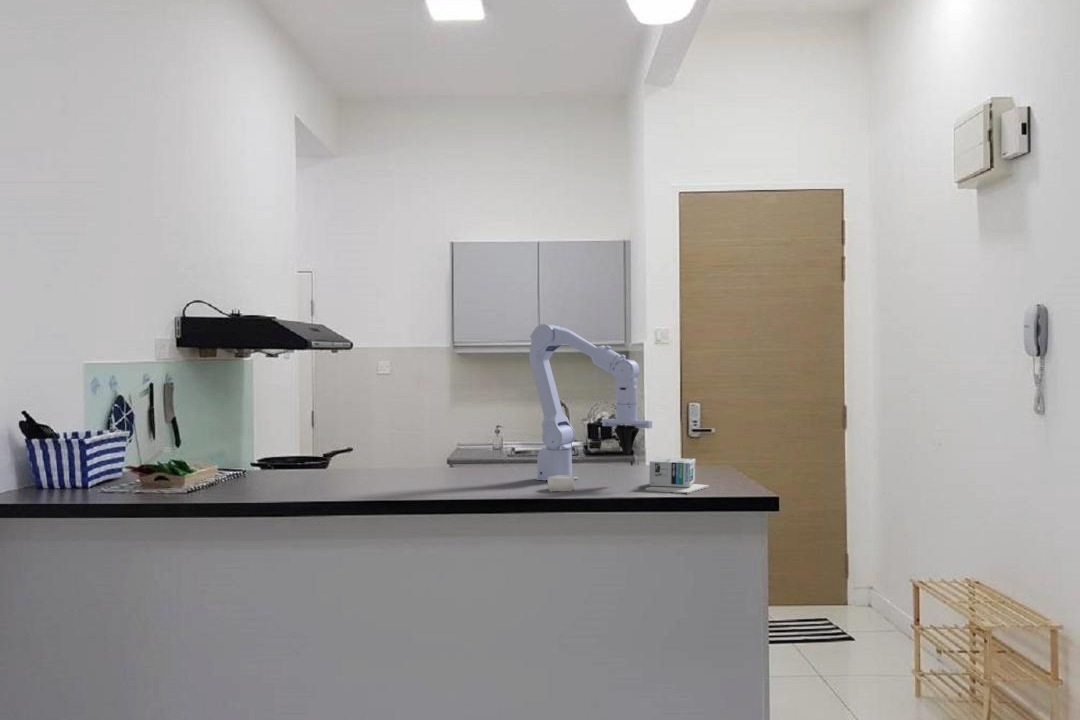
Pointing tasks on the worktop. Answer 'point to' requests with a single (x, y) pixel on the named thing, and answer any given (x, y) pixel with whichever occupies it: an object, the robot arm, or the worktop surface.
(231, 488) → the worktop surface
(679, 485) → the light bulb box
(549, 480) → the pale rounded bar
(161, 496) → the worktop surface
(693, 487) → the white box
